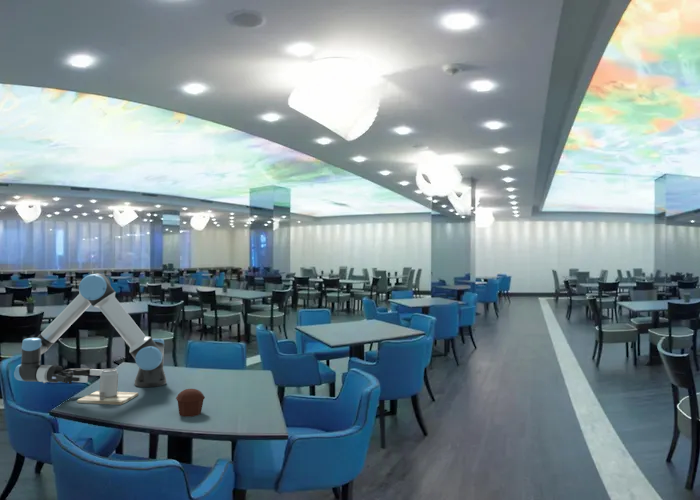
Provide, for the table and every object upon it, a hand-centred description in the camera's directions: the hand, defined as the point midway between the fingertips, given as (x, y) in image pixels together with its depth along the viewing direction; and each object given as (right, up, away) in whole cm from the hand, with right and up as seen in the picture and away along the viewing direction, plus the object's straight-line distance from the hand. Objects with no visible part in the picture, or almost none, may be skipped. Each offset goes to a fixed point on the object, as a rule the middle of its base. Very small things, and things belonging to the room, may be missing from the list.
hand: (95, 375), depth 233 cm
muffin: (+48, -11, -18) cm, 53 cm away
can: (+6, -9, 0) cm, 11 cm away
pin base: (+6, -10, 0) cm, 12 cm away
